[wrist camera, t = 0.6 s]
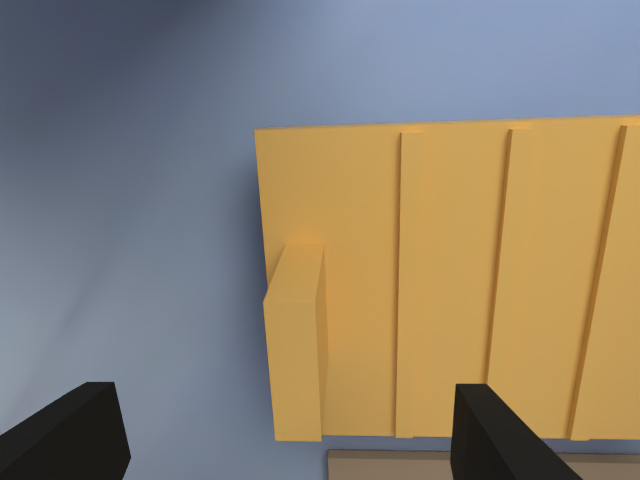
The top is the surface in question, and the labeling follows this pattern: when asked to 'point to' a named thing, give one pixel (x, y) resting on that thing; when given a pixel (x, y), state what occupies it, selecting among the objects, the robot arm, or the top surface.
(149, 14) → the top surface
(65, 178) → the top surface
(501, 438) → the robot arm
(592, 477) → the mat
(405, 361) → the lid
